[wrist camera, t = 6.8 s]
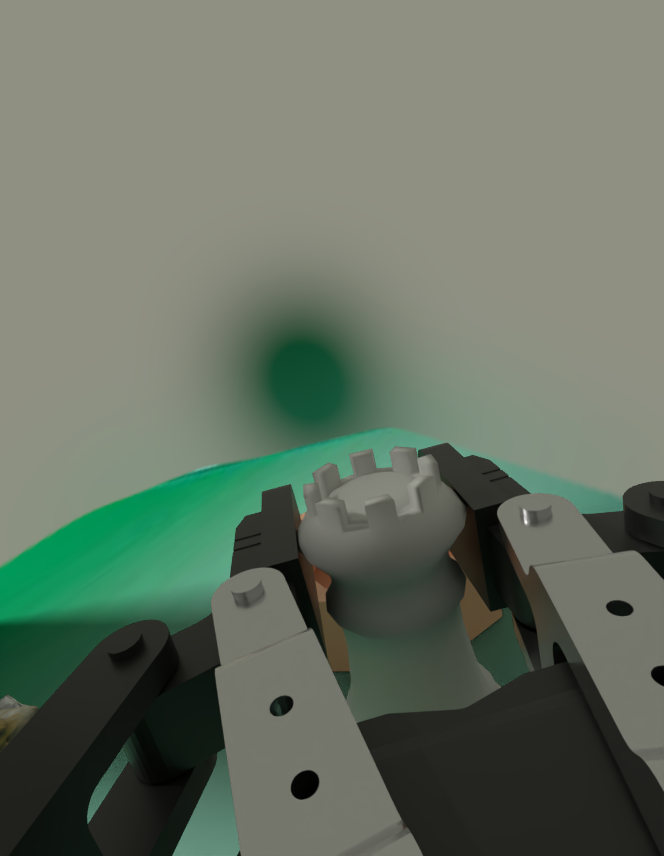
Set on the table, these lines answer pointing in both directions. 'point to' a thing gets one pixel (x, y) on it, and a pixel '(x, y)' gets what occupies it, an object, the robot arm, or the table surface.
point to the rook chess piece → (394, 583)
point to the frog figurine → (13, 718)
